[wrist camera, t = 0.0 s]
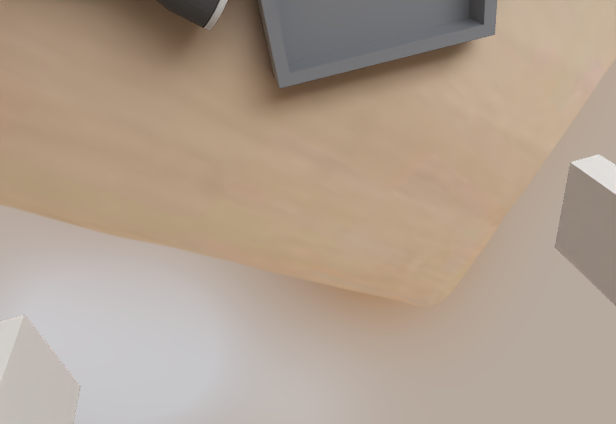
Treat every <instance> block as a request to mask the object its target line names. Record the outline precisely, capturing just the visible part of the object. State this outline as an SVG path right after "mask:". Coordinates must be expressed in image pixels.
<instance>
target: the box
mask: <svg viewBox="0 0 616 424" xmlns="http://www.w3.org/2000/svg"><path fill="white" fill-rule="evenodd" d="M257 2H258V7H259V11H260V16H261V20H262V25H263V30H264V34H265V39H266V43H267V48H268V53H269V57H270V62H271V66H272V71H273V76H274V78H275V80H276V82H277V84H278V86H279V88H284V87H288V86H292V85H296V84H300V83H304V82H308V81H312V80H316V79H320V78H324V77H328V76H332V75H336V74H340V73H344V72H348V71H352V70H356V69H360V68H364V67H368V66H372V65H375V64H379V63H383V62H387V61H391V60H395V59H399V58H403V57H407V56H411V55H415V54H419V53H423V52H427V51H431V50H435V49H439V48H443V47H447V46H451V45H455V44H459V43H463V42H467V41H471V40H475V39H479V38H483V37H487V36H491V35H495V24H496V9H497V0H257Z"/></svg>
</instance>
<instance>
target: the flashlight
mask: <svg viewBox="0 0 616 424" xmlns="http://www.w3.org/2000/svg"><path fill="white" fill-rule="evenodd" d="M157 1H159V2H160V3H161V4H162V5H163V6H165V7H166V8H167V9H168V10H170V11H172V12H174V13H176V14H178V15H180V16H182V17H184V18H185V19H187V20H189V21H191V22H193V23H195V24H197V25H199V26H201V27H203V28H205V29H207V30H211V29H212V27H213V26H214V25H215V24H216V22H217V20H218V19H219V17H220V15H221V13H222V11H223V9H224V7H225V5H226V3H227V1H228V0H157Z"/></svg>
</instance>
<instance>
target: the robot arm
mask: <svg viewBox="0 0 616 424" xmlns="http://www.w3.org/2000/svg"><path fill="white" fill-rule="evenodd" d="M555 248H556V249H557V250H558V251H559V252H560V253H561V254H562V255H563V256H565V257H566V258H567V259H568V260H569V261H570V262H571V263H572V264H573V265H574V266H575V267H576V268H577V269H578V270H579V271H580V272H581V273H582V274H583V275H584V276H585V277H586V278H587V279H588V280H590V281H591V282H592V283H593V284H594V285H595V286H596V287H597V288H598V289H599V290H600V291H601V292H602V293H603V294H604V295H605V296H606V297H607V298H608V299H609V300H610V301H611V302H612V303H613V304H614V305H615V306H616V165H615V164H613V163H612V162H610V161H609V160H607V159H606V158H604V157H602V156H601V155H595V156H591V157H588V158H584V159H581V160H577V161H573V162H570V167H569V173H568V178H567V183H566V189H565V194H564V200H563V205H562V211H561V216H560V222H559V227H558V232H557V238H556V243H555ZM79 391H80V385H79V384H78V383H77V382H76V380H75V379H74V377H73V376H72V375H71V374H70V372H69V371H68V370H67V368H66V367H65V366H64V365H63V363H62V362H61V361H60V359H59V358H58V357H57V355H56V354H55V353H54V352H53V350H52V349H51V348H50V346H49V345H48V344H47V343H46V341H45V340H44V339H43V337H42V336H41V335H40V334H39V332H38V331H37V330H36V328H35V327H34V326H33V324H32V323H31V322H30V321H29V319H28V318H27V317H26V315H20V316H16V317H13V318H9V319H6V320H2V321H0V424H73V423H74V417H75V412H76V407H77V402H78V397H79Z"/></svg>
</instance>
